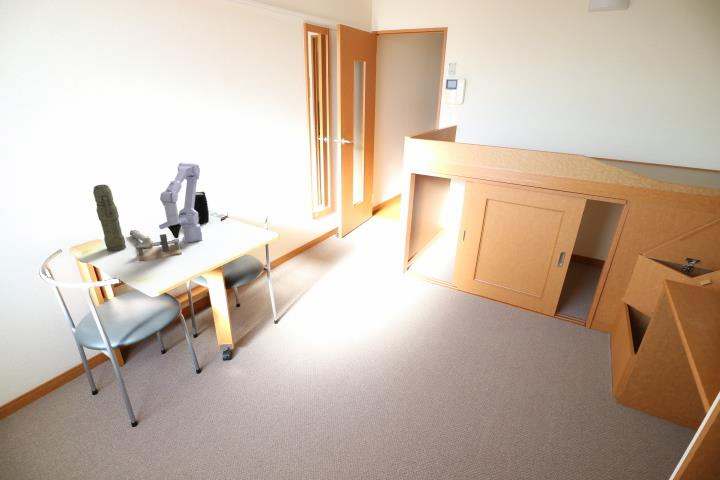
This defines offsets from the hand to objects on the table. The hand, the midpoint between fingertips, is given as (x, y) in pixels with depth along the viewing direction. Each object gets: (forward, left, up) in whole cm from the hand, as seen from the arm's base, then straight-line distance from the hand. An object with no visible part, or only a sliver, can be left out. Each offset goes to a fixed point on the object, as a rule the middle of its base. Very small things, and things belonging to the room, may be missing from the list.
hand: (176, 237), depth 196 cm
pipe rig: (+9, 0, -7) cm, 12 cm away
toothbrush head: (+17, -20, -8) cm, 28 cm away
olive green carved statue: (+29, -16, -8) cm, 34 cm away
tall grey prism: (+6, 0, -5) cm, 8 cm away
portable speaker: (-18, -39, -8) cm, 44 cm away
